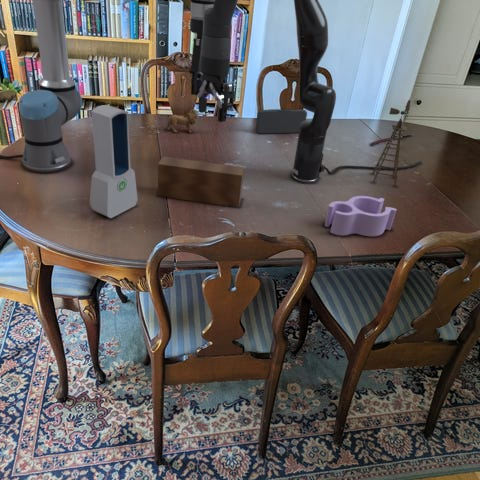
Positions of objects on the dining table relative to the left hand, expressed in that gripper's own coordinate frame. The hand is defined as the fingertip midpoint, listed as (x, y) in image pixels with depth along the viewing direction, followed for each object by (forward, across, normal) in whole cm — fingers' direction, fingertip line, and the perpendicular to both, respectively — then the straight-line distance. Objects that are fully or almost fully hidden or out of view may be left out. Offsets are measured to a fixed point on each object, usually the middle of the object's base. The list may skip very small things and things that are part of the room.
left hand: (199, 89), depth 153 cm
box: (+28, -22, -6) cm, 36 cm away
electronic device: (+28, -36, +17) cm, 49 cm away
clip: (+28, -26, -56) cm, 68 cm away
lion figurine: (+28, +35, +13) cm, 47 cm away
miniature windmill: (+28, +12, -69) cm, 75 cm away
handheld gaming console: (+28, +49, -28) cm, 63 cm away
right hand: (-1, -29, -9) cm, 31 cm away
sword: (+28, +58, -79) cm, 102 cm away
